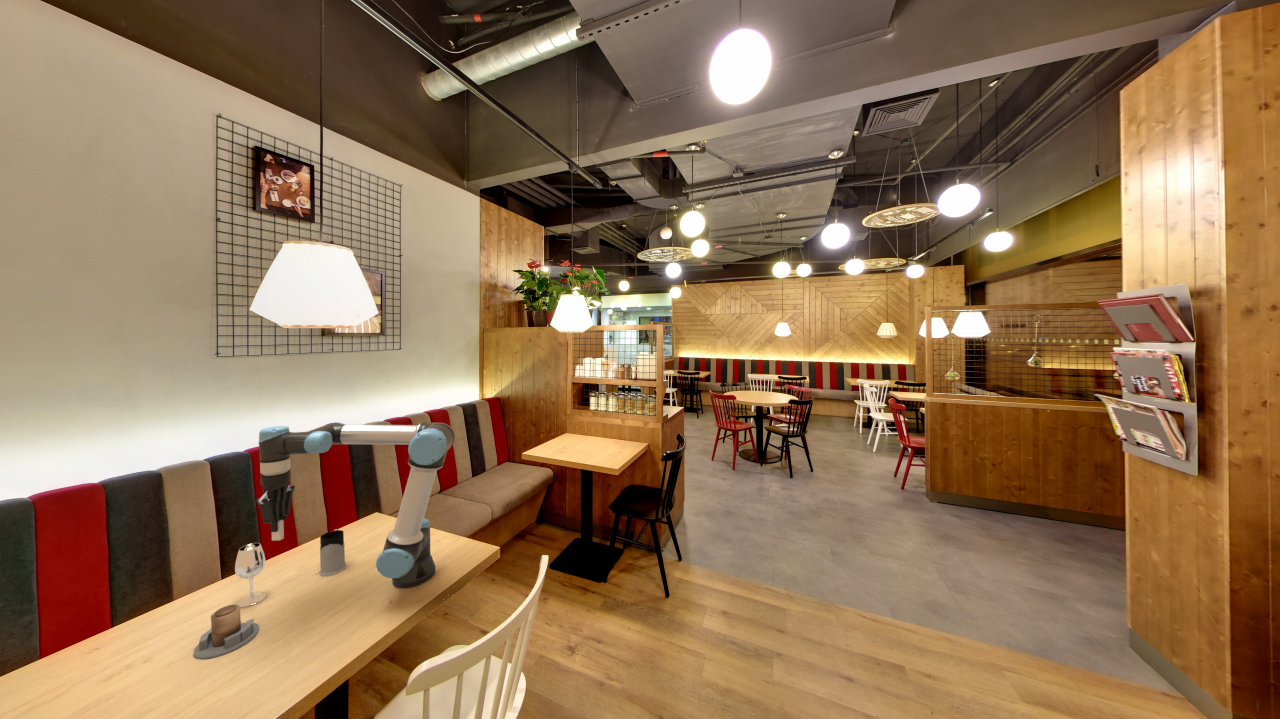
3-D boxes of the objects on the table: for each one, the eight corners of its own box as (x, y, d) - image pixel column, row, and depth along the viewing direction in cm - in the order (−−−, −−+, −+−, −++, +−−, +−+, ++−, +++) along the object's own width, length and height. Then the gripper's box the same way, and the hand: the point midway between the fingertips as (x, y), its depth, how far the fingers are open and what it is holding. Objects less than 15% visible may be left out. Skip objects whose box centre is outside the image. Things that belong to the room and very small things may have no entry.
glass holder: (317, 578, 152) (316, 542, 152) (324, 561, 165) (323, 527, 164) (344, 572, 157) (343, 536, 156) (349, 555, 169) (348, 522, 169)
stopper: (246, 631, 123) (245, 602, 123) (226, 646, 117) (225, 616, 117) (226, 632, 123) (225, 603, 123) (205, 647, 117) (204, 617, 117)
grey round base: (271, 623, 128) (270, 613, 128) (230, 657, 114) (229, 646, 114) (225, 625, 127) (225, 615, 127) (178, 660, 113) (178, 649, 113)
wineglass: (270, 596, 141) (269, 544, 141) (242, 610, 134) (240, 554, 134) (260, 590, 145) (258, 539, 144) (232, 603, 138) (229, 549, 137)
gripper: (279, 466, 137) (282, 530, 138) (245, 479, 124) (248, 549, 125) (302, 465, 138) (304, 529, 139) (270, 478, 125) (273, 549, 126)
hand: (277, 539), depth 132 cm, fingers closed
